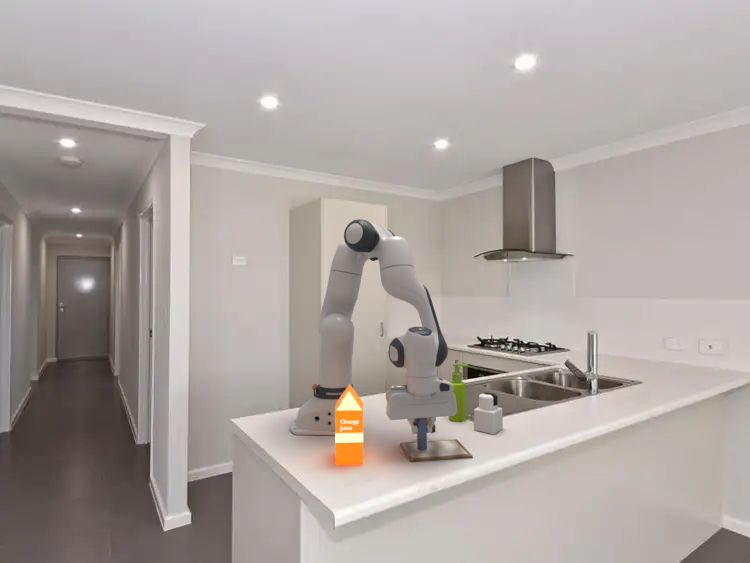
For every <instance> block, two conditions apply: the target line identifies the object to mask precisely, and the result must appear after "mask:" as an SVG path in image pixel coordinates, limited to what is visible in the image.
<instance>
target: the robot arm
mask: <svg viewBox="0 0 750 563" xmlns="http://www.w3.org/2000/svg"><path fill="white" fill-rule="evenodd" d="M343 239H344V241H342V242H340V243H339V244H338V246H336V247H337V248H336V250H335V253H334V255H333V258H332V261H331V265H330V266H331V267H330V271H329V275H328V281H327V286H326V291H325V295H324V299H323V302H322V308H321V311H320V316H319V320H318V325H317V330H318V333H319V335H320V349H319V350H320V352H319V384H316V383H314V384H313V385H312V386H311V388H312V391H313V396H312V397H311V398H310V399H308V401H306V402H305V403H303V404H302V405H301V406H300V408H299V409H298V411H297V415H296V419H294V420H293V421H291V423H290V426H289V430H290V432H291V433H292V434H293V435H297V436H298V435H299V436H301V435H305V436H307V435H309V436H315V435H316V436H335V408H336V403H337V401H338V400H339V399H340V397H341V396H342V394H343V393H344V391H345V390H346V388H347V387H348V385H349V384H350V385H351V386H352V388H353V389H354V384H353V382H352V380H353V375H352V374H353V373H352V372H353V364H352V362H353V353H354V343H355V341H354V340H355V326H354V323H353V321H352V317H353V313H354V309H355V306H356V304H357V300H358V296H359V292H360V287H361V281H362V276H363V271H364V265H365V263H366V262H367V261H368V260H370V261H371V262H375V261H378V264H379V265H378V266H379V273H380V281H381V286H382V288H383V290H384V291H385V292H386V293H387V294H388V295H390V296H391V297H393V298H395V299H397V300H399V301H403V302H405V303H408V304H410V305H411V306H413V307H414V308H415V309H416V310H417V314H418V315H419V316H418V317H419V319H420V322H421V326H413V327H409V328H408V329H407V330H406V333H404V334H403V335H400V336H397V337H394V338H393V339H392V340H391V342H390V343H389V346H388V359H389V361H390V363H392V365H393V366H394V367H395V368H400V369H406V370H405V385H391V386H390V387H388V388H387V389H386V391H385V400H386V408H385V409H386V411H385V412H386V413H385V415H386V416H387V418H388V419H389V420H390V421H398V420H407V422H408V423H409V425H410V427H411V433H412V434H413V435H417V434H418V427H417V426H416V425H415V424H414V423H413V422H414V419H415V418H429V419H430V422H429V424H428V425H427V434H431V433H433V432H432V427H433V425H434V424H435V423H436V421H437V418H441V417H449V416H454V415H455V414H456V413H457V403H456V397H455V394H454V393H453V392H452V391H453V385H452V384H451V383H450V382H451V381H449V380H448V379H447V380H446V379H444V378H441V377H437V369H436V367H440V366H442V365H443V363H444V362H445V361H446V359H447V358H448V354H449V347H448V344H447V342H446V339H445V337H444V335H443V332H442V330H441V327H440V323H439V320H438V317H437V314H436V311H435V307H434V304H433V301H432V298H431V296H430V293H429V290H428V288H427V287H426V286H425V285H423V284H422V283H421V281H420V280H419V277H418V275H417V273H416V269H415V262H414V257H413V254H412V251H411V247H410V244H409V242H408V240H407V239H406V238H405V237H403V236H400V235H395V233H393V231H391V230H390V229H388V228H386V227H384V226H382V225H380V224H378V223H373V222H370V221H369V220H366V219H354V220H352V221H350V222H349V223H348V224H347V226H346V227H345V229H344V234H343Z"/></svg>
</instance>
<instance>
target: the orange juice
mask: <svg viewBox="0 0 750 563" xmlns="http://www.w3.org/2000/svg"><path fill="white" fill-rule="evenodd" d="M334 436H335V437H334V439H335V440H334V442H335V445H334V446H335V447H334V448H335V453H334V454H335V457H334V458H335V462H334V463H335V465H336V466H340V465H341V466H345V465H347V466H349V465H353V466H355V465H364V402H363V400H362V399H361V398H360V396H359V395H358V393H357V392H356V390H355V389H354V387H353V388H352V386H351V385H350V384H349V385H348V387H347V388H346V390H345V391H344V393H343V394H342V396H341V397H340V399H339V400H338V401H337V403H336V408H335V435H334Z"/></svg>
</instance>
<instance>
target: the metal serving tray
mask: <svg viewBox="0 0 750 563" xmlns="http://www.w3.org/2000/svg"><path fill="white" fill-rule="evenodd" d="M399 446H400V448H401V449H402V451H403V452H404V454H405V456H406V458H407V459H408V461H409V463H414V462H415V463H416V462H432V461H446V460H447V461H449V460H460V459H473V457H474V456H473V454H472V453H471V452H470V451H469V450H468V449H467V448H466V447H465V446H464V445H463V444H462V443H461V442H460V441H459V440H458V439H456V438H455V439H440V440H427V450H424V451H421V450H418V449H417V441H410V442H409V441H405V442H403V441H402V442H399Z"/></svg>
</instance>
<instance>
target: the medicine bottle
mask: <svg viewBox="0 0 750 563" xmlns="http://www.w3.org/2000/svg"><path fill="white" fill-rule="evenodd" d="M498 403H499V400H498V395H497V394H495V393H494V392H482V393H479V395H478V406H477V407H476V408H474V409H473V431H476V432H481V433H486V434H488V435H489V434H490V435H492V436H493V435H495V434H497V433H498V432H500V431H502V430H503V427H504V426H503V423H504V422H503V408H502V407H498V405H499V404H498Z"/></svg>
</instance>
